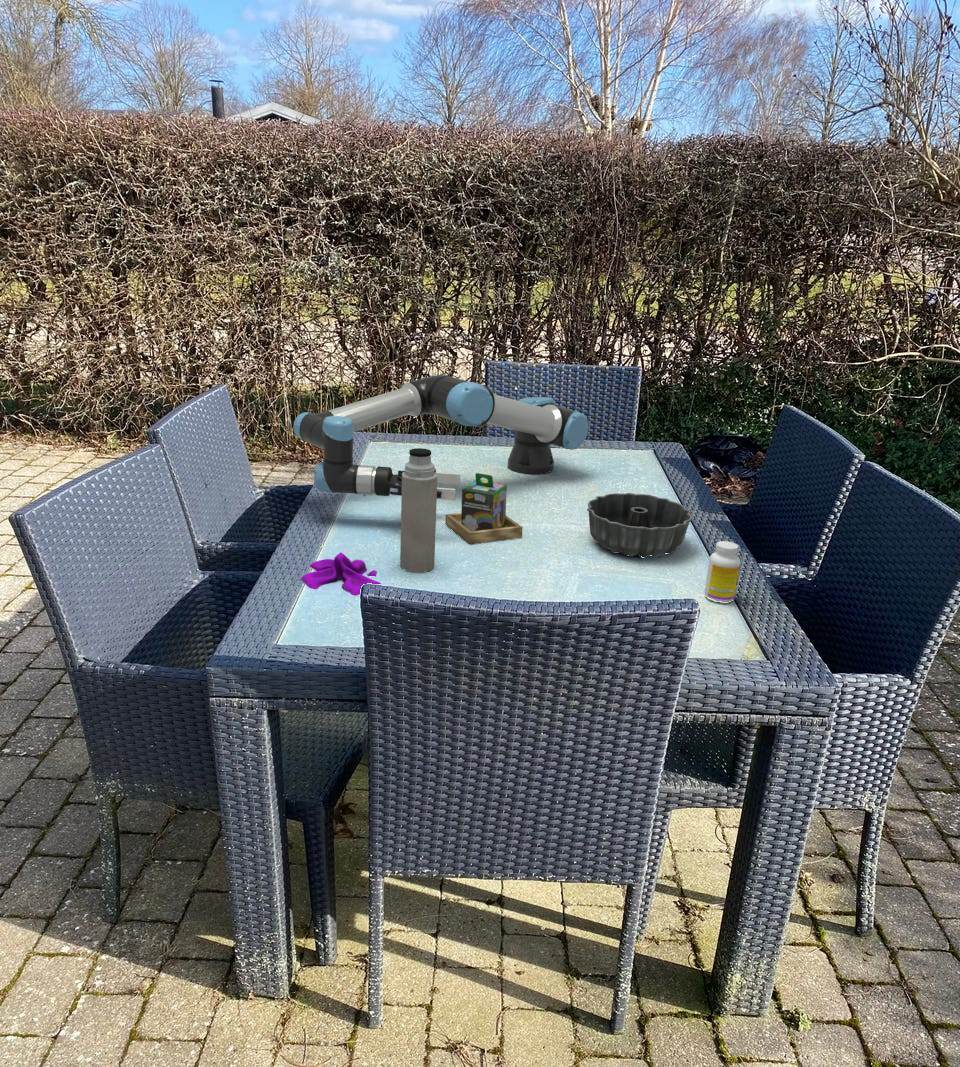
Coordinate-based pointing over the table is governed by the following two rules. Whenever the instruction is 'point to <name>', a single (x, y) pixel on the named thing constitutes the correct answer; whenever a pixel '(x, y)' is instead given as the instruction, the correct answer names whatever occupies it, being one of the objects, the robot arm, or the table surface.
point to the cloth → (339, 574)
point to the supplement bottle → (723, 572)
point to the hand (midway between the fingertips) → (457, 486)
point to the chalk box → (483, 504)
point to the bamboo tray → (471, 537)
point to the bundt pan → (638, 523)
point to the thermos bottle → (418, 512)
